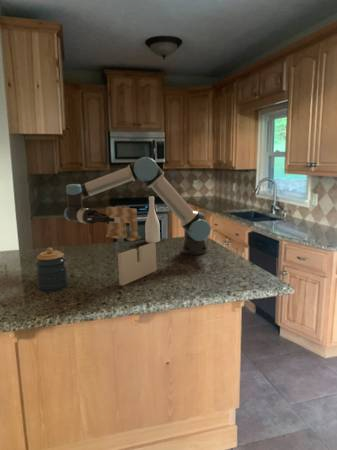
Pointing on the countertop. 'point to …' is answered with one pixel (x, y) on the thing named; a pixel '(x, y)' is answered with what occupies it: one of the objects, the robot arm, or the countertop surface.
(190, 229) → the robot arm
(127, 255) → the cream board
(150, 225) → the white rounded block
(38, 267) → the canister
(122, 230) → the brown angled piece
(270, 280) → the countertop surface
